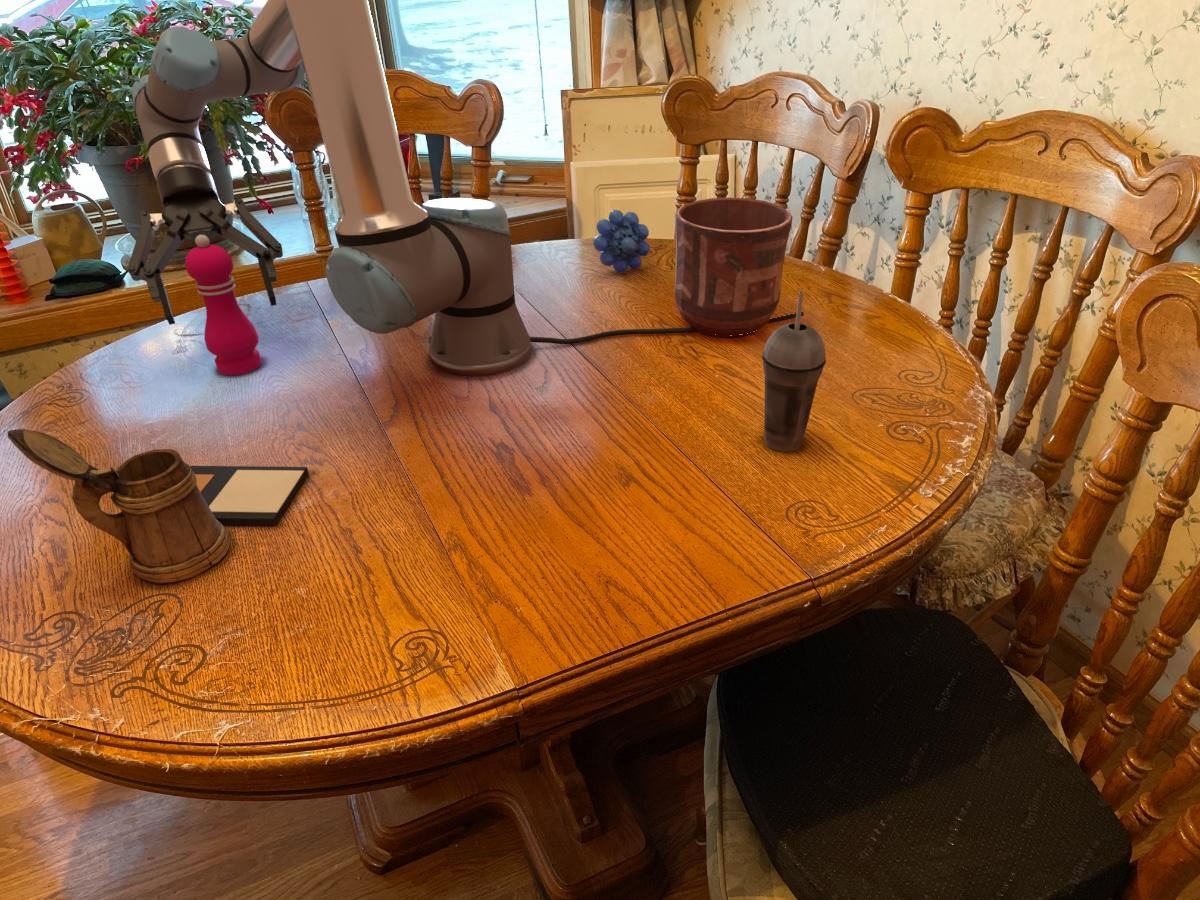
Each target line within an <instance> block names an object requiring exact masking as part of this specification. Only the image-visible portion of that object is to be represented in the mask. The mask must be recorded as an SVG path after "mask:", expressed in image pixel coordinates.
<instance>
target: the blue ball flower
mask: <svg viewBox="0 0 1200 900" xmlns="http://www.w3.org/2000/svg"><path fill="white" fill-rule="evenodd" d="M596 230H597V232H598V234H597V235H596V236H595V237H594V238H593V240H592V245H593V247H594V249H595V250H596V251H597V252H600V254H599V261H600V262H601V264H602V266H605V267H611V266H612V267H613V269H614V271H616V272H617V273H621V274H624V273H625V272H627V270H628V269H629V268H631V269H632V270H633V269H634V270H637V269H639V268H640V266H642V262H643V260H642V258H641V257H646V256H648V255H649V253H650V251H651V247H650V244H649V243H648V242H647V241H646V240H647V239H648V237H649V235H650V232H649V229H648V226H647V225H645V224H644V223H640V219H639V217H638V214H636V213H635V212H634V211H627V212H626V213H625V214H624V213H623V212H622V211H621V210H620V209H613V210H611V211H610V212H609V214H608V219H607V218H606V219H605V218H601V219H599V220H598V221H597V224H596Z"/></svg>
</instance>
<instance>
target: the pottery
mask: <svg viewBox="0 0 1200 900" xmlns="http://www.w3.org/2000/svg"><path fill="white" fill-rule="evenodd" d="M674 213H675V216H674V223H675V224H674V228H675V255H676V256H675V259H676V260H675V278H674V299H675V304H676V308H677V310H678V312H679V314H680V316H681V318H682V319H683V320H684V322H686V323H687V324H688V325H689V326H690V327H693V328H695V329H696V330H697V331H698V332H697V333H699V334H701V335H703V336H706V337H709V338H714V339H720V340H722V339H724V340H735V339H743V338H747V337H749V336H753V335H754V334H756V333H758V332H759V331H760V330H761V329H762V328H764V327H765V326H766V325H768V324H767V323H768V321H769V320H770V318H772V317H773V316H774V314H775V311H776V310H777V308H778V305H779V303H780V299H781V293H782V292H781V290H782V283H783V281H782V280H783V269H784V263H785V257H786V250H787V245H788V241H789V237H790V233H791V229H792V226H793V225H792V224H793V214H792V213H791V212H790V211H789V210H787V209H786V208H784V207H783V206H782V205H780V204H776V203H774V202H773V203H772V202H770V201H767V200H761V199H755V198H749V197H747V198H746V197H727V196H725V197H712V198H711V197H710V198H704V199H699V200H693V201H691V202H689V203H686V204H683V205H682V206H680V207H678V209H677V210H676V211H675V212H674ZM756 330H757V331H756ZM753 331H755V332H753ZM750 332H751V333H750ZM747 333H748V334H747ZM715 334H716V335H715ZM739 334H743V335H739ZM730 335H732V336H730Z"/></svg>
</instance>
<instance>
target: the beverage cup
mask: <svg viewBox="0 0 1200 900" xmlns="http://www.w3.org/2000/svg"><path fill="white" fill-rule="evenodd" d="M804 294H805V293H804V291H803V290H800V291H798V295H797V296H798V298H797V305H796V312H797V313H796V318H795V322H789V323H786V324H783V325H781V326H779V327H778V328H777V329H775V330H774V331H773V332H772V333H771V335H770V336H769V337H768V339H767V340H766V342H765V345H764V348H763V351H762V353H761V359H762V368H763V374H764V411H763V412H764V417H763V418H764V420H763V421H764V423H763V425H764V426H763V432H764V443H765V445H766V446H767V447H768V448H769V449H772V450H774V451H776V452H782V453H783V452H784V453H790V452H794V451H797V450H799V449H800V448H801V447H802V445H803V441H804V437H805V435H806V431H807V427H808V423H809V420H810V414H811V411H812V407H813V404H814V399H815V395H816V391H817V387H818V383H819V379H820V378H821V376H822V374H823V370H824V367H825V366H826V364H827V360H826V359H827V358H826V347H825V342H824V340H823V338H822V336H821V335H820V334H819V332H818V331H817V330H816V329H814V327H812V326H811V325H808V324H806V323H803V322H801V319H802V316H801V312H802V311H803V310H802V309H803V302H804Z"/></svg>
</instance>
